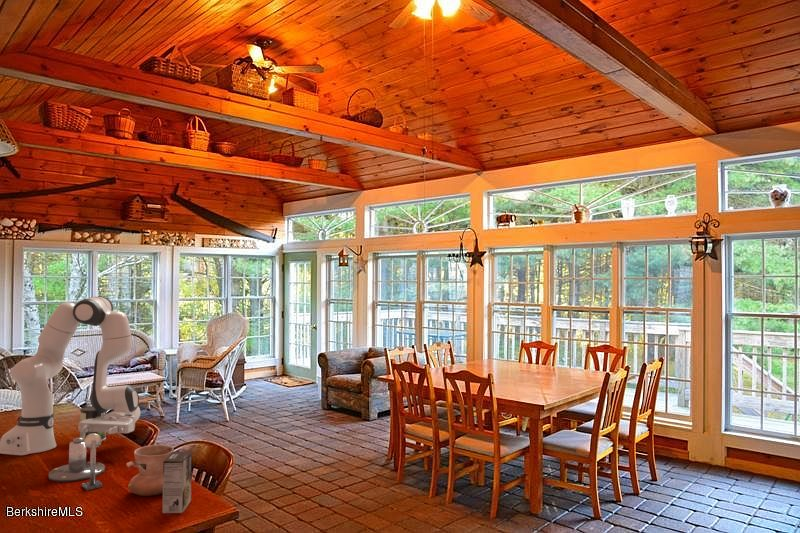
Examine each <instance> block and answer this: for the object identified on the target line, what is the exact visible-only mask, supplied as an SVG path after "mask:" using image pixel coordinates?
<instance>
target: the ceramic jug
mask: <svg viewBox="0 0 800 533" xmlns="http://www.w3.org/2000/svg"><path fill="white" fill-rule="evenodd" d="M174 450H175V449H174V447H173V446H172V445H168V444H151V445H144V446H141V447H138V448H136V449H135V450H134V451H133V454H134V457H133V458H134V461H133V460H131V461H129V462H127V463H126V467H128V468H131V467H135V468H137V470H138V471H139V472H138V473H137V474H136V475H134V476H133V477H132V478H131V479H130V481H129V483H128V485H127V489H128V490H129V491H130V492H131V493H132V494H135V495H137V496H141V497H152V496H153V497H154V496H158V495H161V494H162V495H163V461H164V460H165V459H166V458H167V457H168V456H169V455H170V454H171V453H172V452H174Z"/></svg>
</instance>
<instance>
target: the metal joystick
mask: <svg viewBox="0 0 800 533" xmlns="http://www.w3.org/2000/svg"><path fill="white" fill-rule="evenodd" d="M84 444H85V446H86V449H89V450H90V452H89V454H90V457H89V462H90V478H89V481H87V482H83V483H82V484H81V487H82V488H83V489H85V491H91V490H95V489H99V488H103V483H102V482H101V481H100V480H99V479H98V480H97V479H96V476H95V465H96V462H97V460H96V458H97V457H96V456H97V454H96V453H97V449H98V448H99V447H100V446H101V444H102V439H101V437H100V436H99V435H98V434H96V433H92V434H89V435H88V436H87V437H86V438H85V440H84Z"/></svg>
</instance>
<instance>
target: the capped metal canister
mask: <svg viewBox="0 0 800 533" xmlns="http://www.w3.org/2000/svg"><path fill="white" fill-rule="evenodd" d="M68 445H69V446H68V447H69V448H68V464H69V472H80V471H83V470H85V469H86V462H87V447H86V446H85V444H84V440H83V438H82V437H80V436H79V437H74V438H73V440H72V441H70V442H69V444H68Z"/></svg>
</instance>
